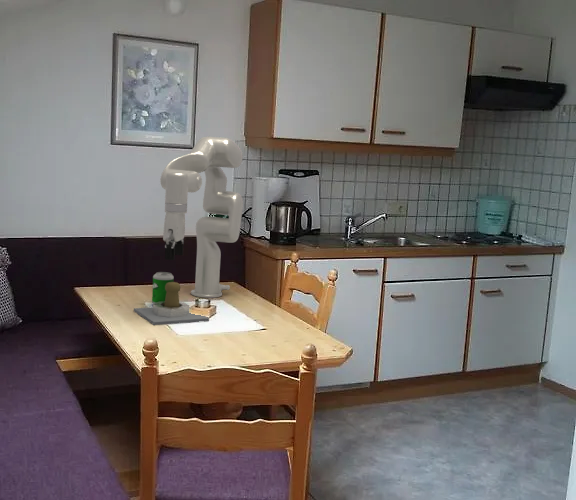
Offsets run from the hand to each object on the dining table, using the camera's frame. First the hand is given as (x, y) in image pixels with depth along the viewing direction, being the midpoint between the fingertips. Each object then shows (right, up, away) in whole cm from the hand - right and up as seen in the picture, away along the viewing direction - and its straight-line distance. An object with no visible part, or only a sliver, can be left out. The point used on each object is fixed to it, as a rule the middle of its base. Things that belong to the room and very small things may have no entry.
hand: (174, 257), depth 246 cm
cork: (-1, -20, +3) cm, 20 cm away
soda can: (-7, -18, +18) cm, 26 cm away
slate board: (-2, -21, +3) cm, 21 cm away
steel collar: (-2, -21, +3) cm, 21 cm away
